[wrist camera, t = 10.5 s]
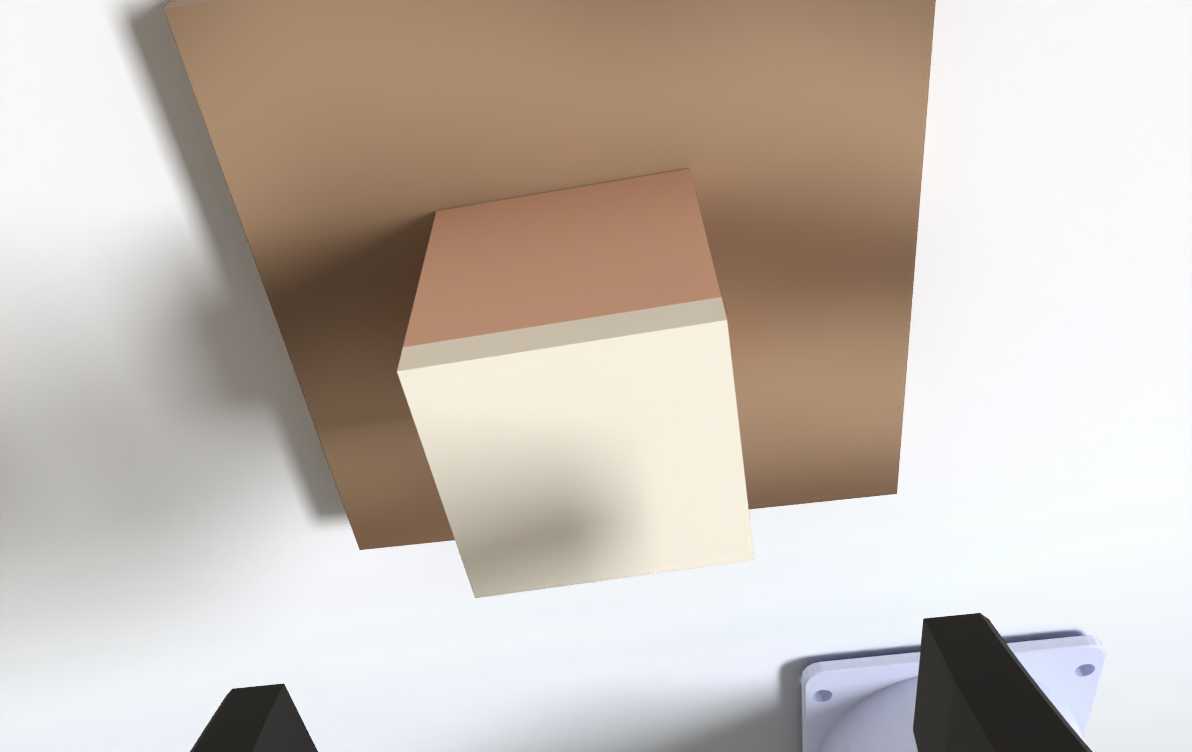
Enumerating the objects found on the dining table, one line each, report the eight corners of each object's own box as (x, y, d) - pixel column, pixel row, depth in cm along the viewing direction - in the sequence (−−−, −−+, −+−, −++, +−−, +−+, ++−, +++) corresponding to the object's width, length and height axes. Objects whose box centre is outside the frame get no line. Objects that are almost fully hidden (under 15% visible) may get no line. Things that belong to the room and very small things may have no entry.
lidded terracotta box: (716, 378, 20) (754, 559, 16) (493, 412, 20) (475, 597, 16) (689, 168, 17) (726, 319, 13) (436, 211, 18) (397, 371, 14)
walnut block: (873, 435, 24) (896, 493, 22) (373, 489, 24) (359, 549, 23) (906, -120, 17) (943, -95, 15) (200, -27, 17) (163, 8, 16)
